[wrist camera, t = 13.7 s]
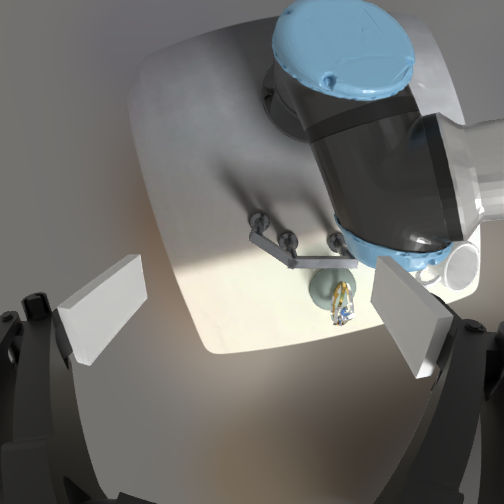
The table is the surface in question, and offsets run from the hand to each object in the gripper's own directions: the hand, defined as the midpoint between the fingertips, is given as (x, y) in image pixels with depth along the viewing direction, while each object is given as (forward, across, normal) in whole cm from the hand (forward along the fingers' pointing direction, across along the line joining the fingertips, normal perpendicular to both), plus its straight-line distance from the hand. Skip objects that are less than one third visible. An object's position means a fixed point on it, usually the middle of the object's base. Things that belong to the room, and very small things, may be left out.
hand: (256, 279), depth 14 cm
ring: (+28, +11, -15) cm, 34 cm away
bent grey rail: (+29, +5, -4) cm, 29 cm away
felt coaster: (+29, +11, -14) cm, 34 cm away
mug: (+29, +29, -8) cm, 41 cm away
